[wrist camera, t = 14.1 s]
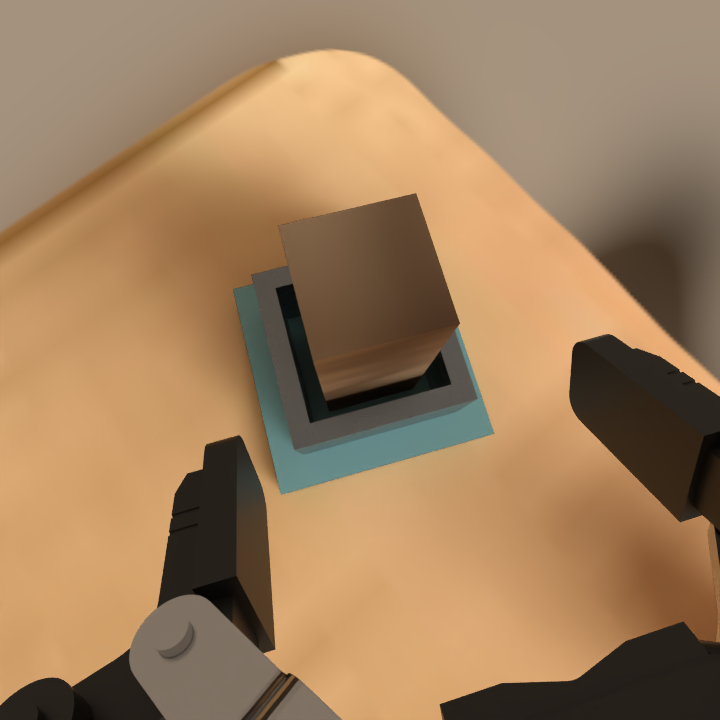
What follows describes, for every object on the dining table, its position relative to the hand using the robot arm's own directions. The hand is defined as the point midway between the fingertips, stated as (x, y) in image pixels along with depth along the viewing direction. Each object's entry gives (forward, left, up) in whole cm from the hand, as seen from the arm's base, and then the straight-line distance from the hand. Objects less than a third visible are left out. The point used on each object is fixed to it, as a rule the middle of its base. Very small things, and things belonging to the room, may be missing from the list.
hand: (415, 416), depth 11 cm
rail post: (-2, +4, -11) cm, 12 cm away
